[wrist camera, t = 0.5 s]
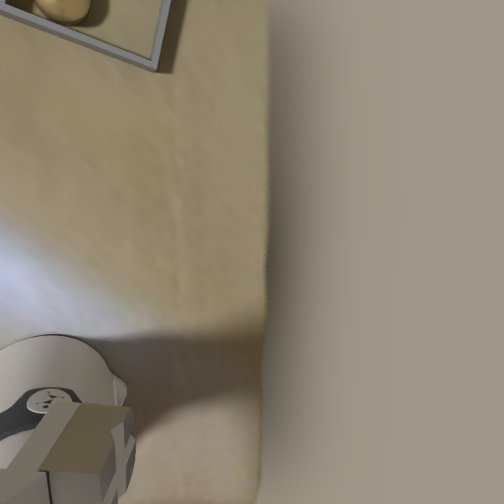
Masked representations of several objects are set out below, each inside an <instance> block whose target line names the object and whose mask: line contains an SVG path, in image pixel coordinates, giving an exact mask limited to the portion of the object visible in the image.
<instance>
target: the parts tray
mask: <svg viewBox="0 0 504 504" xmlns="http://www.w3.org/2000/svg"><path fill="white" fill-rule="evenodd" d="M170 3H171V0H162V2H161V7H160V11H159V16H158V21H157V26H156V31H155V36H154V41H153V45H152V50H151V55H150V60H148V59H145V58H143V57H140V56H137V55H135V54H132V53H130V52H127V51H125V50H122V49H120V48H117V47H114V46H112V45H109V44H107V43H104V42H102V41H99V40H97V39H94V38H91V37H89V36H86V35H84V34H81V33H79V32H76V31H74V30H71V29H69V28H66V27H63V26H61V25H58V24H56V23H53V22H51V21H48V20H46V19H43V18H40V17H38V16H35V15H33V14H30V13H28V12H25V11H23V10H20V9H18V8H15V7H12V6H10V5H9V0H0V15H2V16H5V17H8V18H10V19H13V20H16V21H18V22H21V23H24V24H26V25H29V26H32V27H34V28H37V29H39V30H42V31H45V32H47V33H50V34H53V35H55V36H58V37H61V38H63V39H66V40H69V41H71V42H74V43H76V44H79V45H82V46H84V47H87V48H90V49H92V50H95V51H98V52H100V53H103V54H105V55H108V56H111V57H113V58H116V59H119V60H121V61H124V62H127V63H129V64H132V65H135V66H137V67H140V68H142V69H145V70H148V71H150V72H154V71H155V70H157V65H158V60H159V56H160V51H161V46H162V41H163V37H164V32H165V27H166V22H167V17H168V13H169V8H170Z"/></svg>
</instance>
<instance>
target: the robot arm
mask: <svg viewBox="0 0 504 504" xmlns="http://www.w3.org/2000/svg"><path fill="white" fill-rule="evenodd" d="M126 396H127V385H126V384H125V383H124V382H123V381H122V380H121V379H120V378H118V377H117V376H115V375H113V374H112V373H111V372H110V370H109V369H108V367H107V365H106V363H105V361H104V360H103V358H102V357H101V356H100V354H99V353H98V352H97V351H96V350H94V349H93V348H92V347H90V346H89V345H87V344H85V343H84V342H81V341H79V340H76V339H73V338H69V337H64V336H39V337H33V338H29V339H25V340H22V341H19V342H17V343H14V344H12V345H10V346H8V347H6V348H4V349H3V350H1V351H0V504H118V498H120V497H121V496H122V495H123V494H124V493H125V492H126V491H127V488H128V485H129V482H130V479H131V476H132V471H133V467H134V462H135V453H136V440H135V439H134V438H133V437H132V435H131V432H132V430H133V427H134V425H135V413H134V409H133V408H131V407H122V405H123V402H124V400H125V398H126Z"/></svg>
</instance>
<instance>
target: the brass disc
mask: <svg viewBox="0 0 504 504" xmlns="http://www.w3.org/2000/svg"><path fill="white" fill-rule="evenodd" d="M34 1H35V4H36V5H37V7H38V9H39V10H40V11H41V13H42V14H43V15H44V16H45V17H47V18H48V19H49V20H51V21H52V22H54V23H57V24H60V25H64V26H72V25H76V24H78V23H80V22H82V21H83V20H84V19H85V18H86V16H87V14H88V12H89V8H90V2H91V0H34Z"/></svg>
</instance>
